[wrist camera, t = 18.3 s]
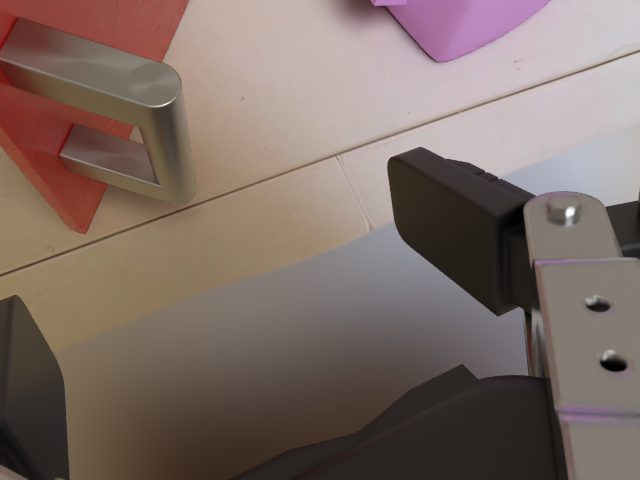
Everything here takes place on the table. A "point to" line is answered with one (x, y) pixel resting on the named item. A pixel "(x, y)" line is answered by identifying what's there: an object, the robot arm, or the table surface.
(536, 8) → the teapot
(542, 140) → the table surface
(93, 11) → the door
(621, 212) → the robot arm
